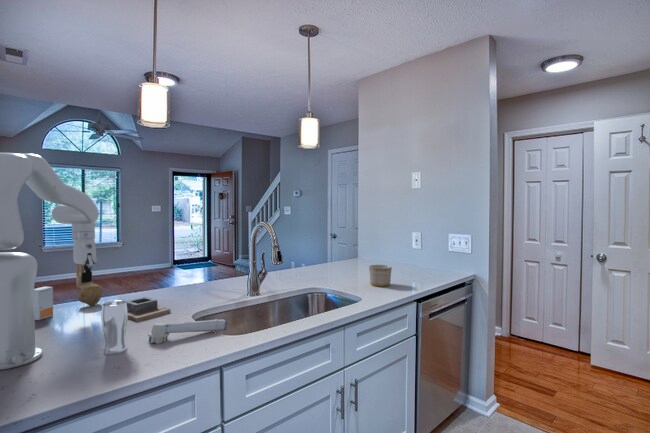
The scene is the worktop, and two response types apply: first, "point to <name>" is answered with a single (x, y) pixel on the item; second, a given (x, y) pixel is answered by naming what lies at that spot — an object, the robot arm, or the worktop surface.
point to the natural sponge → (90, 295)
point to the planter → (380, 275)
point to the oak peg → (79, 277)
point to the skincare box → (43, 302)
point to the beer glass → (114, 326)
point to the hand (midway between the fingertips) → (84, 281)
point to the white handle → (184, 328)
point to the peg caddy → (144, 309)
